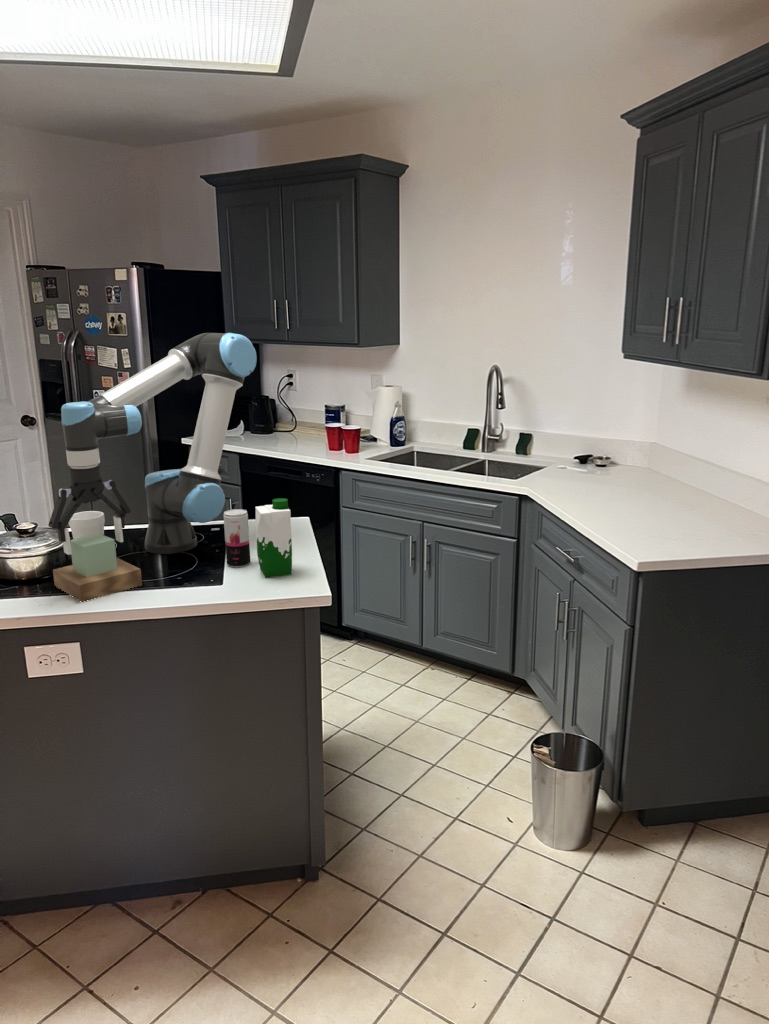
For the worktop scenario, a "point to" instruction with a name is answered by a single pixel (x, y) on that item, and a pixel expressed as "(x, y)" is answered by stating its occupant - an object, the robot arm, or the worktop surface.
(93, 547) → the sage cube
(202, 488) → the robot arm
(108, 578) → the walnut block
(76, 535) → the foam cup
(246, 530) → the beverage can
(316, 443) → the worktop surface
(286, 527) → the milk carton
